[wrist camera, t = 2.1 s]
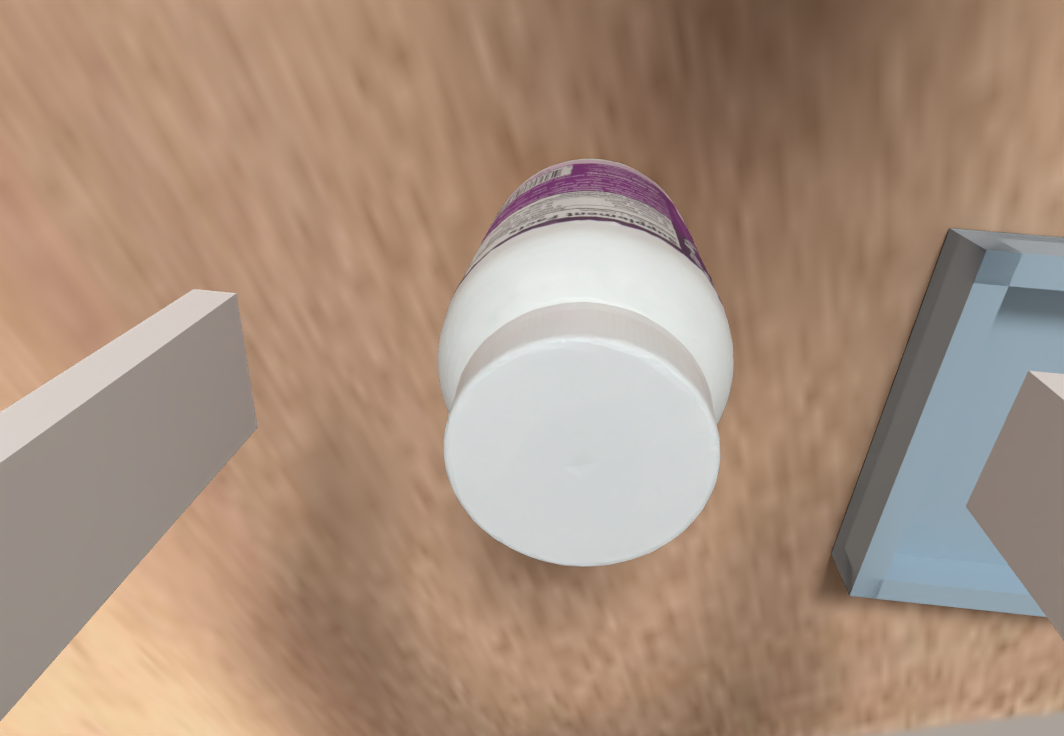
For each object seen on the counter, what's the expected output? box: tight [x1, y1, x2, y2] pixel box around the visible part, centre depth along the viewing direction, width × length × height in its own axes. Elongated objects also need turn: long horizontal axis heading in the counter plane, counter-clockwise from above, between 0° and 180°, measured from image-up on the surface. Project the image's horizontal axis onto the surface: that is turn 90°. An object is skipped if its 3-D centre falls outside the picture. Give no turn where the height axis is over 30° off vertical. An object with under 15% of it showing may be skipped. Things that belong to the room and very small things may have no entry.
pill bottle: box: [438, 159, 734, 567], centre depth 14 cm, size 5×5×10 cm
